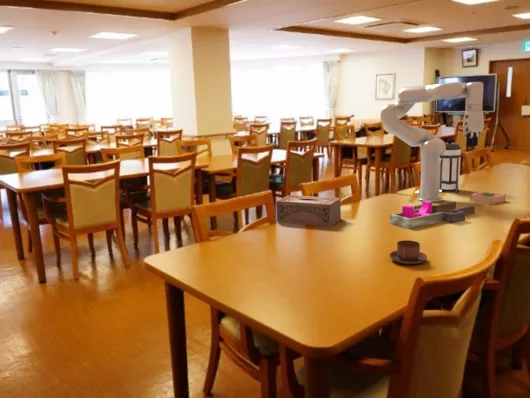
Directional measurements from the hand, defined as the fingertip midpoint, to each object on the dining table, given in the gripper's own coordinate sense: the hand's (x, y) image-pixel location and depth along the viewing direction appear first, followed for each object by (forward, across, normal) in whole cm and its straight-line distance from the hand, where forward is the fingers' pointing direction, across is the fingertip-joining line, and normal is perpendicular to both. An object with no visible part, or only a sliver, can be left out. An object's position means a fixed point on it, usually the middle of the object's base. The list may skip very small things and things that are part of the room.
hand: (471, 145), depth 235 cm
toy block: (+30, -45, -9) cm, 55 cm away
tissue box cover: (+30, -83, +22) cm, 91 cm away
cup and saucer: (+30, -88, -43) cm, 102 cm away
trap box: (+29, -37, -10) cm, 48 cm away
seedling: (+30, +9, -4) cm, 31 cm away
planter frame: (+29, +12, -2) cm, 32 cm away
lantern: (+29, +19, +28) cm, 45 cm away
